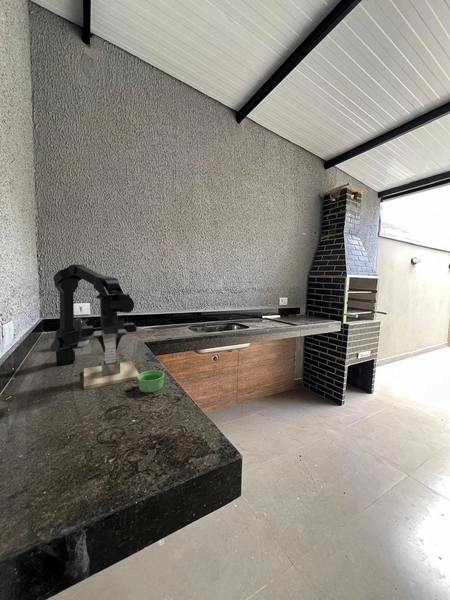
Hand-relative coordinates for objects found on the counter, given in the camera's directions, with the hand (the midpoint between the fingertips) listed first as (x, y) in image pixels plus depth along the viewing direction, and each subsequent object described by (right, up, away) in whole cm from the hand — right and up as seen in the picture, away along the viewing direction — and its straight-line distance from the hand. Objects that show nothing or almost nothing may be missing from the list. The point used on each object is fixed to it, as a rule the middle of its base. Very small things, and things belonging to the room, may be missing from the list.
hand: (110, 351), depth 92 cm
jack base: (0, -9, +1) cm, 9 cm away
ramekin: (+19, -11, -9) cm, 23 cm away
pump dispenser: (-35, -6, +39) cm, 53 cm away
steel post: (0, -5, 0) cm, 5 cm away
